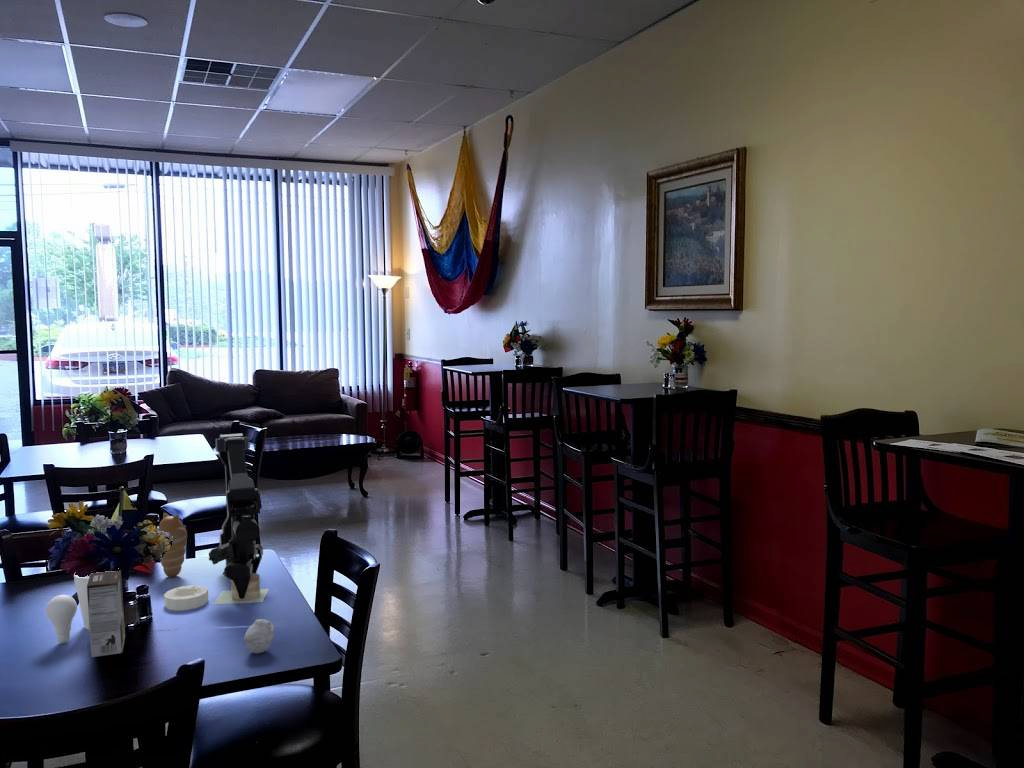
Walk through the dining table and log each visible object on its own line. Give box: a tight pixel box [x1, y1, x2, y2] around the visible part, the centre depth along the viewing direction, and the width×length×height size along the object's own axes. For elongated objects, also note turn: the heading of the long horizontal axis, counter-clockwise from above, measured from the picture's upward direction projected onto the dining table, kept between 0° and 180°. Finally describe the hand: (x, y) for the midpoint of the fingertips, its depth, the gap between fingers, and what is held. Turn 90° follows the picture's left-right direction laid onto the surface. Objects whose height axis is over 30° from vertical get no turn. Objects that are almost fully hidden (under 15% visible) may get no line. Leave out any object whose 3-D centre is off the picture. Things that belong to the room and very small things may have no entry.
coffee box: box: [87, 569, 126, 658], centre depth 178 cm, size 9×6×16 cm
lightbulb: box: [45, 594, 78, 644], centre depth 181 cm, size 6×6×11 cm
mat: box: [213, 588, 270, 605], centre depth 209 cm, size 10×12×1 cm
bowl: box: [163, 584, 209, 612], centre depth 205 cm, size 10×10×3 cm
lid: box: [230, 572, 261, 601], centre depth 209 cm, size 7×7×5 cm
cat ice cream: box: [158, 512, 188, 578], centre depth 225 cm, size 9×8×18 cm
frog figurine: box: [243, 618, 275, 654], centre depth 176 cm, size 6×7×7 cm
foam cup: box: [73, 573, 89, 631], centre depth 191 cm, size 10×9×13 cm
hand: (245, 592), depth 209 cm, fingers open, 9 cm apart
